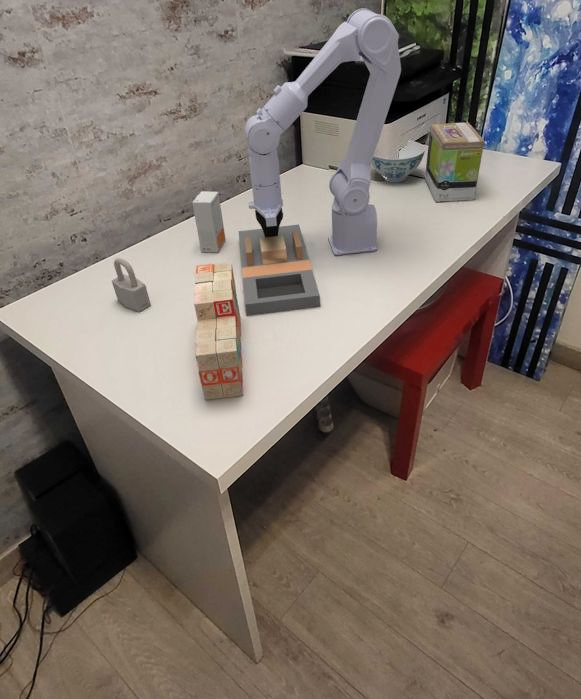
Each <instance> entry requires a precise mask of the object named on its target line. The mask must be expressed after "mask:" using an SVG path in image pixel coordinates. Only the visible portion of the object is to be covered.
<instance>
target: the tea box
mask: <svg viewBox="0 0 581 699" xmlns="http://www.w3.org/2000/svg"><path fill="white" fill-rule="evenodd" d="M484 146H485V140H484V138H483V137H482V136H481V135H480V133H479V132H477V130H476V129H475V128H474V127H473V126H472V125H471V123H470V122H451V123H448V122H447V123H436V124H435V123H434V124H433V123H432V124H430V129H429V136H428V148H427V154H426V155H427V156H426V165H425V172H424V173H425V174H424V175H425V176H424V180H426V181H425V182H427V183H426V184H427V187H428V189H429V191H430V193H431V196H432V197H433V200H434V201H435V202H436V203H438V202H439V203H441V202H440V201H449V202H458V201H457V200H468V201H474V200H475V198H476V197H475V196H476V192H477V191H476V190H477V186H478V180H479V175H480V174H479V173H480V169H481V168H480V167H481V164H482V157H483V152H484Z"/></svg>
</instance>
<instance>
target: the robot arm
mask: <svg viewBox="0 0 581 699" xmlns="http://www.w3.org/2000/svg"><path fill="white" fill-rule="evenodd" d="M399 35H400V34H399V33H398V31H397V30H396V27H395V26H394V24H393V22H392V21H391V19H389V17H388V16H386V15H384V14H378V13H375V12H374V11H373V10H371V9H369V8H366V7H365V8H358V9H356V10H355V11H353V12H352V13H351V14H350V15H349V16H348V18H347V20H346V21H343V22H342V23H341V24H340V25H339V26H338V27H336V30H335V31H334V33H333V34H332V36H330V38H329V39H328V40H327V41H326V43H325V44H324V45H323V47H322V48H321V49H320V50H319V51H318V52H317V54H316V55H315V56H314V58H313V59H312V60H311V62H309V64H308V65H307V66H306V67H305V69H304V70H303V71H302V72H301V74H300V75H299V76H298V78H296V80H295V81H291V82H290V81H289V82H288V81H286V82H284V83H283V84H282V85H281V86H280V85H279V84H277V85H276V87H275V88H274V89H273V93H274V94H273V96H272V97H270V99H269V100H268V101H267V102H266V103H265V105H264V106H263V107H262V108H260V107H258V109H257V110H256V115H252V116H250V117H249V119H248V120H247V121H246V123H245V125H244V126H245V127H244V130H243V135H244V137H245V139H246V141H247V144H248V151H247V152H248V156H249V159H248V164H249V172H250V181H251V182H250V183H251V190H252V197H253V198H252V199H253V201H249V202H248V203H247V204H248V209H250V210H254V211H255V218H256V221H257V223H258V224H259V225H260V227H261V229H262V230H263V232H264V236H265V237H273V236H278V231H279V227H281V222H282V221H283V219H284V212H283V208H282V207H283V206H284V200H283V198H282V187H281V175H280V163H279V155H278V149H277V148H278V146H279V144H280V139H281V138H280V137H281V135H282V134H284V133H285V132H286V130H288V129H289V127H291V125H292V124H293V123H294V122H295V121H296V120H297V119H298V118H299V117H300V115H302V113H303V112H304V111H305V110H306V108H308V99H309V96H310V94H312V92H313V91H314V90H316V88H317V87H318V86H320V85H321V84H322V83H323V82H324V80H326V78H328V76H329V75H330V74H331V73H332V72H334V70H336V69H337V67H338V66H339V65H340V64H342V63H346V62H347V63H348V62H354V61H359V60H361V58H362V60H363V62H364V64H365V66H366V67H367V69H368V71H369V77H368V81H367V84H366V87H365V91H364V94H363V97H362V101H361V104H360V107H359V110H358V114H357V118H356V121H355V124H354V127H353V132H352V134H351V138H350V140H349V144H348V148H347V152H346V155H345V156H344V158H343V159H342V160H341V161H340V162H339V164H338V168H337V170H336V171H335V173H334V174H333V175H332V176H331V178H330V179H329V183H328V184H329V191H330V193H331V194H332V196H334V199H333V202H332V204H331V228H332V229H331V234H332V235H331V236H329V237H328V244H329V245H330V248H331V250H332V253H333V255H334V256H340V255H348V254H349V255H350V254H360V253H367V252H375V251H377V250H378V247H377V241H378V240H377V238H378V237H377V236H378V235H377V234H378V217H377V216H378V215H377V214H378V213H377V210H376V209H377V208H376V206H375V205H374V204H369V203H370V186H371V183H372V177H371V166H372V164H371V162H372V159H373V156H374V153H375V150H376V147H377V144H378V142H380V138H381V134H382V131H383V129H384V125H385V122H386V118H387V116H388V112H389V110H390V106H391V104H392V100H393V97H394V95H395V92H396V88H397V85H398V83H399V79H400V75H401V72H402V67H401V66H402V64H401V58H400V50H399V43H398V42H399V37H400V36H399Z"/></svg>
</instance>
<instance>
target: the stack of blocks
mask: <svg viewBox="0 0 581 699" xmlns="http://www.w3.org/2000/svg"><path fill="white" fill-rule="evenodd" d="M233 268H234V267H233V264H232V261H225V262H215V263H206V264H200V265H195V274H194V285H193V286H194V289H193V293H194V295H193V296H194V297H193V306H194V311H195V315H196V319H197V321H196V331H195V342H194V344H195V359H196V360H195V361H196V365H197V368H198V369H197V370H198V376H199V381H200V386H201V388H202V389H201V390H202V394H203V397H204V400H205V401H206V400H215V399H216V400H217V399H223V398H232V397H241V396H244V390H243V389H244V388H243V387H244V386H243V380H244V378H243V357H242V341H241V340H242V330H241V329H242V327H241V326H242V323H241V322H242V320H241V318H242V317H241V312H240V307H239V306H240V305H239V302H238V296H237V289H236V288H237V287H236V281H235V276H234V269H233Z"/></svg>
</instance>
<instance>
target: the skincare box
mask: <svg viewBox="0 0 581 699" xmlns="http://www.w3.org/2000/svg"><path fill="white" fill-rule="evenodd" d="M219 194H220V193H219V191H205V190H204V191H200V192H199V193H198V194H197V195H196V197H195V198H194V199H193V201H192V210H193V214H194V218H195V224H196V225H195V226H196V229H197V230H196V231H197V235H198V241H199V248H200V251H201V252H202V253H219V252H220V250H221V249H222V247H223V245H224V243H225V242H226V240H227V239H226V233H225V227H224V221H223V214H222V212H223V211H222V207H221V201H220V200H221V199H220V195H219Z"/></svg>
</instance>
